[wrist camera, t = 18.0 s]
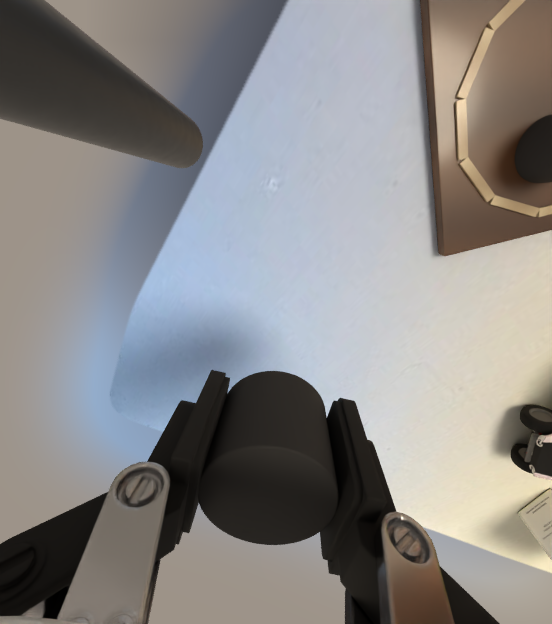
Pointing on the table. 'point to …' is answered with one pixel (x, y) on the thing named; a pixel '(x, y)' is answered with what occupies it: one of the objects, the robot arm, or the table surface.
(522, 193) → the face board
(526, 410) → the toy car
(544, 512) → the ink box
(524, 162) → the dot
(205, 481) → the black cylinder
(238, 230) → the table surface
